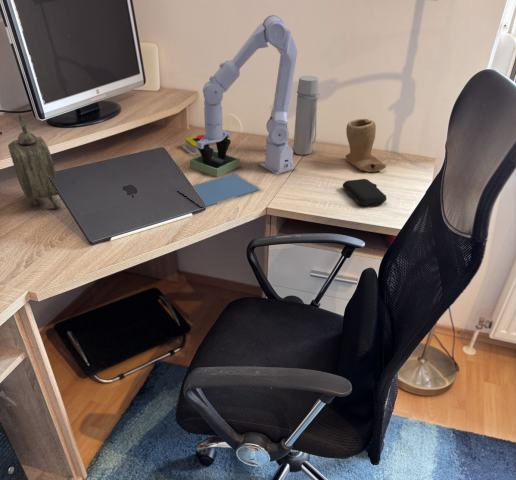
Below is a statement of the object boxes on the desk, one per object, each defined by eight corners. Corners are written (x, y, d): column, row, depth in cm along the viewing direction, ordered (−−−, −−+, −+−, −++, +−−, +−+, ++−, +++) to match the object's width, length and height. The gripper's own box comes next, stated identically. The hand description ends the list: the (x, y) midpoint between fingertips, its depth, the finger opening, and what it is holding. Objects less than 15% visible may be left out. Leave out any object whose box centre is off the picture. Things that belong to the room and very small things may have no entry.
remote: (227, 168, 171) (226, 159, 169) (220, 171, 169) (220, 162, 167) (209, 162, 174) (209, 153, 172) (202, 165, 172) (202, 156, 170)
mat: (259, 190, 160) (259, 189, 159) (201, 208, 149) (201, 207, 149) (234, 175, 168) (234, 174, 167) (177, 191, 157) (177, 190, 157)
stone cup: (336, 159, 180) (341, 115, 170) (365, 155, 184) (372, 113, 174) (355, 176, 170) (362, 130, 160) (386, 172, 173) (395, 127, 163)
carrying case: (391, 204, 154) (369, 185, 165) (393, 195, 152) (370, 176, 163) (359, 208, 152) (339, 188, 162) (361, 199, 150) (341, 179, 160)
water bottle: (287, 151, 184) (292, 77, 168) (302, 146, 189) (308, 73, 172) (305, 159, 180) (312, 83, 163) (320, 154, 184) (328, 79, 167)
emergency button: (180, 135, 182) (217, 129, 188) (181, 147, 185) (217, 141, 191) (190, 143, 176) (228, 137, 182) (191, 156, 179) (228, 149, 185)
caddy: (239, 167, 172) (239, 158, 170) (217, 178, 165) (217, 169, 163) (212, 158, 178) (212, 150, 176) (190, 168, 171) (189, 159, 169)
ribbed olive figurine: (65, 210, 146) (42, 121, 129) (33, 216, 142) (5, 126, 126) (53, 190, 155) (31, 105, 138) (23, 196, 152) (-4, 109, 135)
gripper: (218, 114, 168) (219, 154, 177) (189, 125, 159) (191, 167, 168) (234, 119, 165) (235, 160, 174) (205, 130, 156) (207, 172, 165)
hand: (214, 163), depth 171 cm, fingers open, 6 cm apart
